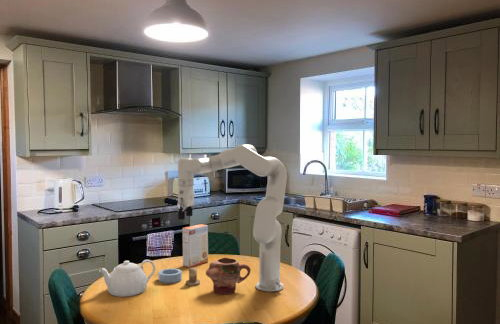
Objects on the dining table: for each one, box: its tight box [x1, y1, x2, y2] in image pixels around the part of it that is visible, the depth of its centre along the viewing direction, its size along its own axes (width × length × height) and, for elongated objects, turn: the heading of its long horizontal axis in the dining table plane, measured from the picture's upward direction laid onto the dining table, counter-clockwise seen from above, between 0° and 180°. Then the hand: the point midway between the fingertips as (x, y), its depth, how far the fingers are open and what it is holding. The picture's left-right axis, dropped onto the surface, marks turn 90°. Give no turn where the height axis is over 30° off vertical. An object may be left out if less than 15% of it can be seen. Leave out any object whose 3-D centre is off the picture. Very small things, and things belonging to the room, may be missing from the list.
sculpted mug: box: [205, 257, 251, 295], centre depth 189 cm, size 20×12×14 cm, turn 103°
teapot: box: [98, 259, 156, 298], centre depth 189 cm, size 19×18×14 cm
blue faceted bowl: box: [157, 267, 183, 285], centre depth 204 cm, size 11×11×4 cm
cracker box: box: [181, 223, 209, 269], centre depth 231 cm, size 14×6×21 cm, turn 141°
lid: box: [185, 267, 201, 287], centre depth 199 cm, size 6×6×7 cm
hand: (185, 217), depth 209 cm, fingers open, 9 cm apart
